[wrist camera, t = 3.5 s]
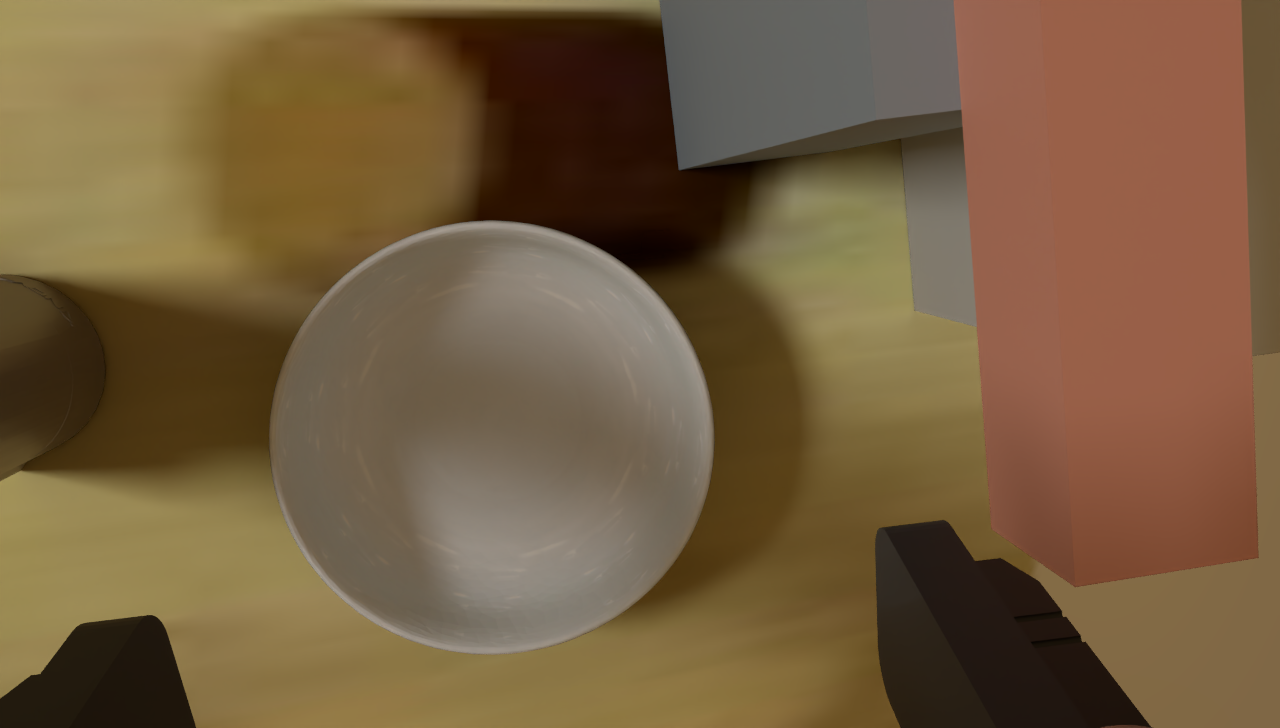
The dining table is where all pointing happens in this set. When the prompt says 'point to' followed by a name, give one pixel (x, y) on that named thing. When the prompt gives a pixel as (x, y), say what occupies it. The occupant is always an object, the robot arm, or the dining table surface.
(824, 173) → the dining table surface
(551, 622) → the serving bowl
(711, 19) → the stand
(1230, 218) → the bar
